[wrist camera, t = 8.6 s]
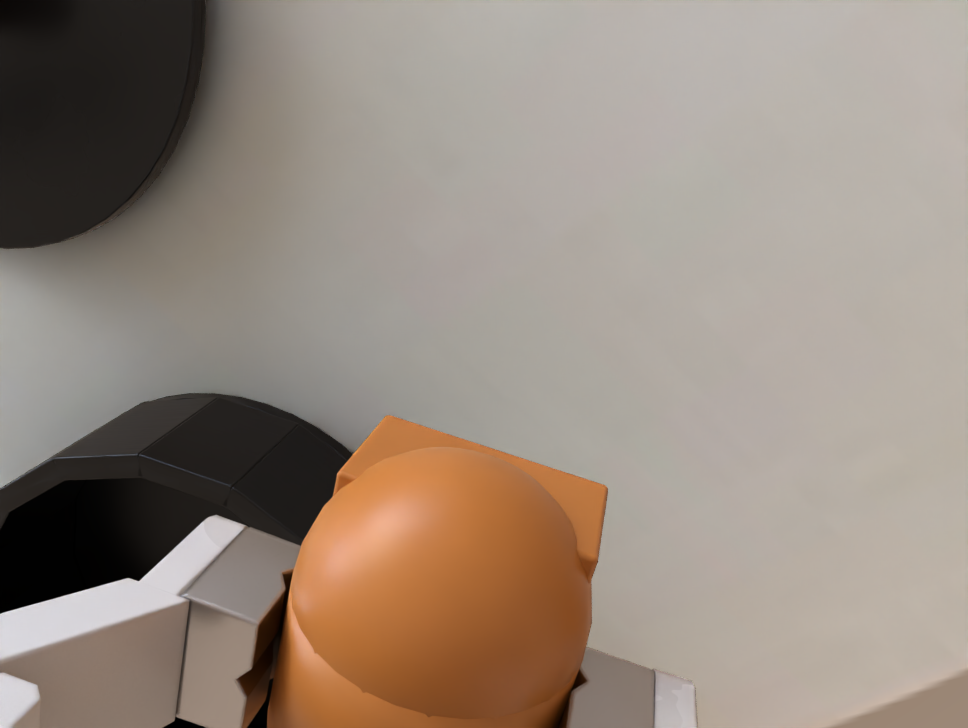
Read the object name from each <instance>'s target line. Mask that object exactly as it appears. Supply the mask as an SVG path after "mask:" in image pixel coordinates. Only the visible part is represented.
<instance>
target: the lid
mask: <svg viewBox="0 0 968 728" xmlns="http://www.w3.org/2000/svg"><path fill="white" fill-rule="evenodd" d="M205 12H206V4H205V0H0V248H4V249H15V248H35V247H39V246H44V245H49V244H53V243H58V242H62V241H66V240H70V239H73V238H75V237H78V236H80V235H83V234H85V233H88V232H91V231H93V230H96V229H97V228H99V227H101V226H102V225H104V224H106V223H107V222H109V221H111V220H112V219H114V218H116V217H117V216H119V215H120V214H121V213H122V212H124V211H125V210H126V209H127V208H128V207H129V206H131V205H132V204H133V203H134V202H135V201H136V200H138V199H139V198H140V197H141V196H142V195H143V193H144V192H145V191H146V190H147V189H148V187H149V186H150V185H151V184H152V183H153V181H154V180H155V179H156V178H157V177H158V176H159V174H160V173H161V171H162V169H163V168H164V166H165V165H166V163H167V161H168V160H169V158H170V156H171V155H172V153H173V151H174V150H175V148H176V146H177V144H178V142H179V139H180V137H181V135H182V132H183V130H184V128H185V125H186V123H187V121H188V118H189V115H190V112H191V108H192V105H193V101H194V98H195V94H196V91H197V87H198V83H199V77H200V71H201V64H202V58H203V51H204V39H205Z"/></svg>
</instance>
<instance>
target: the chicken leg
mask: <svg viewBox="0 0 968 728" xmlns="http://www.w3.org/2000/svg"><path fill="white" fill-rule="evenodd" d="M607 494H608V488H607V487H606V486H605V485H602V484H599V483H596V482H593V481H590V480H587V479H584V478H581V477H578V476H575V475H572V474H569V473H566V472H562V471H559V470H556V469H553V468H550V467H547V466H544V465H541V464H538V463H535V462H532V461H529V460H526V459H523V458H519V457H516V456H513V455H510V454H507V453H504V452H501V451H498V450H495V449H492V448H489V447H486V446H483V445H480V444H477V443H473V442H470V441H467V440H464V439H461V438H458V437H455V436H452V435H449V434H446V433H443V432H440V431H437V430H434V429H430V428H427V427H424V426H421V425H418V424H415V423H412V422H409V421H406V420H403V419H400V418H397V417H394V416H391V415H387V416H385V417H384V418H383V420H382V421H381V422H380V423H379V424H378V426H377V427H376V428H375V429H374V430H373V431H372V433H371V434H370V435H369V436H368V437H367V439H366V440H365V441H364V442H363V443H362V445H361V446H360V447H359V448H358V449H357V450H356V452H355V453H354V454H353V455H352V456H351V458H350V459H349V460H348V461H347V462H346V463H345V465H344V466H343V467H342V468H341V469H340V471H339V472H338V473H337V478H336V483H335V488H334V493H333V497H332V498H331V499H330V500H329V501H328V502H327V503H326V504H325V505H324V507H323V508H322V510H321V512H320V513H319V515H318V517H317V518H316V520H315V522H314V523H313V525H312V527H311V528H310V530H309V532H308V533H307V535H306V537H305V538H304V540H303V542H302V545H301V548H300V551H299V554H298V558H297V561H296V564H295V568H294V570H293V574H292V580H291V585H290V591H289V596H288V602H287V607H286V613H285V618H284V624H283V629H282V635H281V640H280V646H279V652H278V657H277V663H276V668H275V674H274V679H273V685H272V690H271V696H270V701H269V707H268V715H267V728H558V725H559V722H560V720H561V717H562V714H563V711H564V709H565V706H566V703H567V701H568V698H569V695H570V693H571V690H572V687H573V685H574V682H575V679H576V677H577V674H578V671H579V669H580V666H581V663H582V661H583V657H584V653H585V649H586V645H587V641H588V637H589V632H590V628H591V624H592V592H591V579H592V576H593V574H594V571H595V568H596V565H597V563H598V557H599V550H600V543H601V536H602V529H603V522H604V515H605V508H606V501H607Z"/></svg>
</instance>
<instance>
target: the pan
mask: <svg viewBox="0 0 968 728" xmlns="http://www.w3.org/2000/svg"><path fill="white" fill-rule="evenodd" d="M352 455H353V454H352V453H351V452H350V451H349V450H347V449H346V448H345V447H344V446H343V445H342V444H340V443H339V442H337V441H336V440H335V439H333V438H332V437H330V436H329V435H327V434H326V433H324V432H323V431H322V430H320V429H319V428H317V427H315V426H313V425H311V424H310V423H308V422H306V421H304V420H302V419H300V418H298V417H297V416H295V415H293V414H290V413H288V412H285V411H283V410H280V409H278V408H275V407H273V406H270V405H268V404H265V403H261V402H257V401H253V400H250V399H246V398H242V397H236V396H229V395H221V394H182V395H175V396H168V397H163V398H160V399H157V400H153V401H148V402H143V403H140V404H139V405H137V406H135V407H134V408H132V409H130V410H129V411H127V412H125V413H123V414H121V415H120V416H118V417H117V418H115V419H113V420H112V421H110V422H108V423H107V424H105V425H103V426H102V427H100V428H98V429H96V430H95V431H93V432H91V433H90V434H88V435H86V436H85V437H83V438H82V439H80V440H78V441H77V442H75V443H73V444H72V445H70V446H69V447H67V448H65V449H64V450H62V451H60V452H59V453H57V454H55V455H54V456H52V457H51V458H49V459H47V460H46V461H44V462H42V463H41V464H39V465H38V466H36V467H34V468H33V469H31V470H29V471H28V472H26V473H25V474H23V475H21V476H20V477H18V478H16V479H15V480H13V481H12V482H10V483H8V484H7V485H5V486H3V487H2V488H0V614H1V613H4V612H8V611H11V610H15V609H18V608H22V607H26V606H29V605H33V604H36V603H40V602H44V601H47V600H51V599H54V598H58V597H62V596H65V595H69V594H72V593H76V592H80V591H83V590H87V589H90V588H94V587H97V586H101V585H105V584H108V583H112V582H115V581H119V580H123V579H126V578H130V579H133V580H136V581H140V580H141V579H142V578H143V577H144V576H145V575H146V574H147V573H148V572H149V571H150V570H152V569H153V568H154V567H155V566H156V565H157V564H158V563H159V562H160V561H161V560H162V559H163V558H164V557H165V556H166V555H168V554H169V553H170V552H171V551H172V550H173V549H174V548H175V547H176V546H177V545H178V544H179V543H180V542H181V541H183V540H184V539H185V538H186V537H187V536H188V535H189V534H190V533H191V532H192V531H193V530H194V529H195V528H196V527H197V526H199V525H200V524H201V523H202V522H203V521H204V520H205V519H206V518H208V517H211V516H214V515H218V516H221V517H224V518H227V519H229V520H232V521H235V522H237V523H240V524H243V525H246V526H247V527H252V528H255V529H257V530H260V531H263V532H265V533H268V534H271V535H273V536H276V537H279V538H281V539H284V540H287V541H289V542H292V543H295V544H297V545H300V546H301V545H302V542H303V540H304V538H305V537H306V535H307V533H308V532H309V530H310V528H311V527H312V525H313V523H314V522H315V520H316V518H317V517H318V515H319V513H320V512H321V510H322V508H323V507H324V505H325V504H326V503H327V502H328V501H329V500H330V499H331V498H332V497H333V493H334V488H335V483H336V478H337V473H338V472H339V471H340V469H341V468H342V467H343V466H344V465H345V463H346V462H347V461H348V460H349V459H350V458H351V456H352ZM273 679H274V678H272V679H270V681H269V686H268V691H267V696H266V700H265V702H264V703H263V705H262V706H261V708H260V709H259V711H258V712H257V714H256V715H255V717H254V718H253V720H252V721H251V723H250V724H249V726H248V727H247V728H267V715H268V707H269V701H270V696H271V690H272V685H273ZM163 728H206V727H203V726H201V725H198V724H195V723H192V722H189V721H186V720H183V719H181V718H178V717H175V721H174V722H172V723H170V724H168V725H166V726H164V727H163Z"/></svg>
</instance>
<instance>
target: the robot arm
mask: <svg viewBox="0 0 968 728" xmlns="http://www.w3.org/2000/svg"><path fill="white" fill-rule="evenodd" d="M300 548H301V546H300V545H297V544H295V543H292V542H289V541H287V540H284V539H281V538H279V537H276V536H273V535H271V534H268V533H265V532H263V531H260V530H257V529H255V528H252V527H247V526H246V525H243V524H240V523H237V522H235V521H232V520H229V519H227V518H224V517H221V516H218V515H214V516H211V517H208V518H206V519H205V520H204V521H203V522H202V523H201V524H200V525H199V526H197V527H196V528H195V529H194V530H193V531H192V532H191V533H190V534H189V535H188V536H187V537H186V538H185V539H184V540H183V541H181V542H180V543H179V544H178V545H177V546H176V547H175V548H174V549H173V550H172V551H171V552H170V553H169V554H168V555H166V556H165V557H164V558H163V559H162V560H161V561H160V562H159V563H158V564H157V565H156V566H155V567H154V568H153V569H152V570H150V571H149V572H148V573H147V574H146V575H145V576H144V577H143V578H142V579H141V580H140V581H136V580H133V579H130V578H126V579H123V580H119V581H115V582H112V583H108V584H105V585H101V586H97V587H94V588H90V589H87V590H83V591H80V592H76V593H72V594H69V595H65V596H62V597H58V598H54V599H51V600H47V601H44V602H40V603H36V604H33V605H29V606H26V607H22V608H18V609H15V610H11V611H8V612H4V613H1V614H0V728H163V727H164V726H166V725H168V724H170V723H172V722H174V721H175V717H178V718H181V719H183V720H186V721H189V722H192V723H195V724H198V725H201V726H203V727H206V728H247V727H248V726H249V724H250V723H251V721H252V720H253V718H254V717H255V715H256V714H257V712H258V711H259V709H260V708H261V706H262V705H263V703H264V702H265V700H266V696H267V691H268V686H269V681H270V679H272V678H274V674H275V668H276V663H277V657H278V652H279V646H280V640H281V635H282V629H283V624H284V618H285V613H286V607H287V602H288V596H289V591H290V585H291V580H292V574H293V570H294V568H295V564H296V561H297V558H298V554H299V551H300ZM558 728H698V723H697V705H696V687H695V686H694V684H693V682H692V681H691V680H688V679H684V678H681V677H678V676H675V675H672V674H669V673H666V672H663V671H660V670H657V669H650V668H647V667H644V666H641V665H638V664H635V663H632V662H629V661H627V660H624V659H621V658H618V657H615V656H612V655H609V654H606V653H603V652H600V651H598V650H595V649H592V648H589V647H586V649H585V653H584V657H583V661H582V663H581V666H580V669H579V671H578V674H577V677H576V679H575V682H574V685H573V687H572V690H571V693H570V695H569V698H568V701H567V703H566V706H565V709H564V711H563V714H562V717H561V720H560V722H559V725H558Z"/></svg>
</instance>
